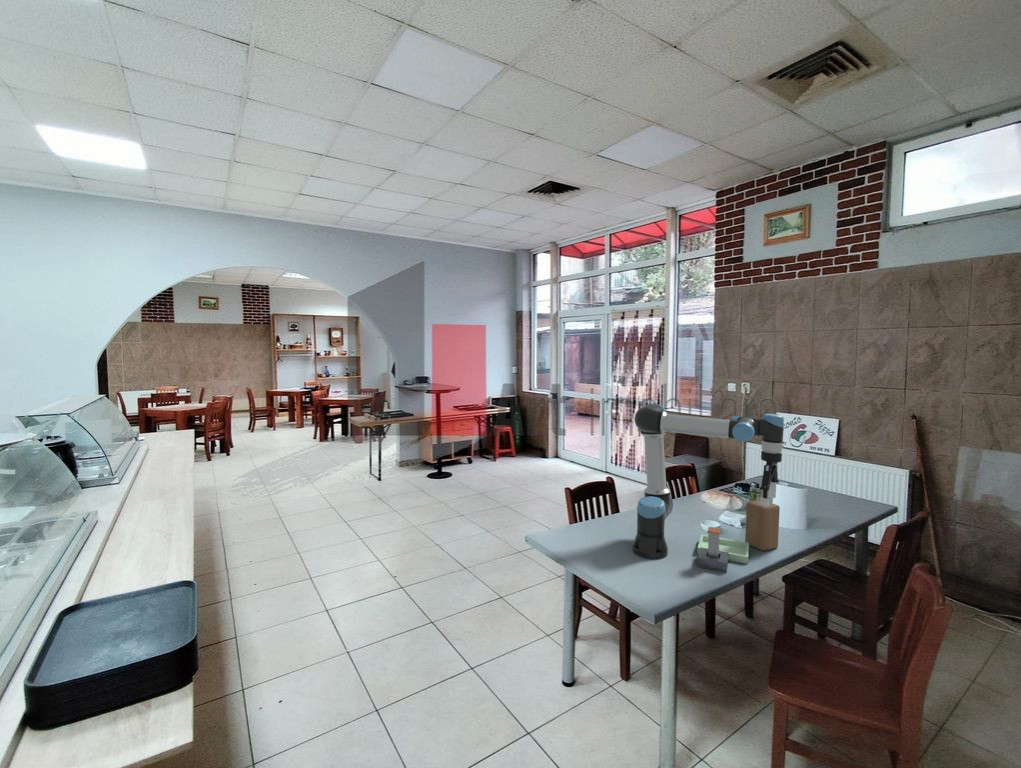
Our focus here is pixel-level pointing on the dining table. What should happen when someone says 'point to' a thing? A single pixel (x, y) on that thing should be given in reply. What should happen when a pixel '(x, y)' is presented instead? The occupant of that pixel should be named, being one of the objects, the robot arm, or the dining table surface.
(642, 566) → the dining table surface
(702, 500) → the dining table surface
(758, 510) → the wooden block
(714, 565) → the block
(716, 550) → the pin
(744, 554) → the tray
